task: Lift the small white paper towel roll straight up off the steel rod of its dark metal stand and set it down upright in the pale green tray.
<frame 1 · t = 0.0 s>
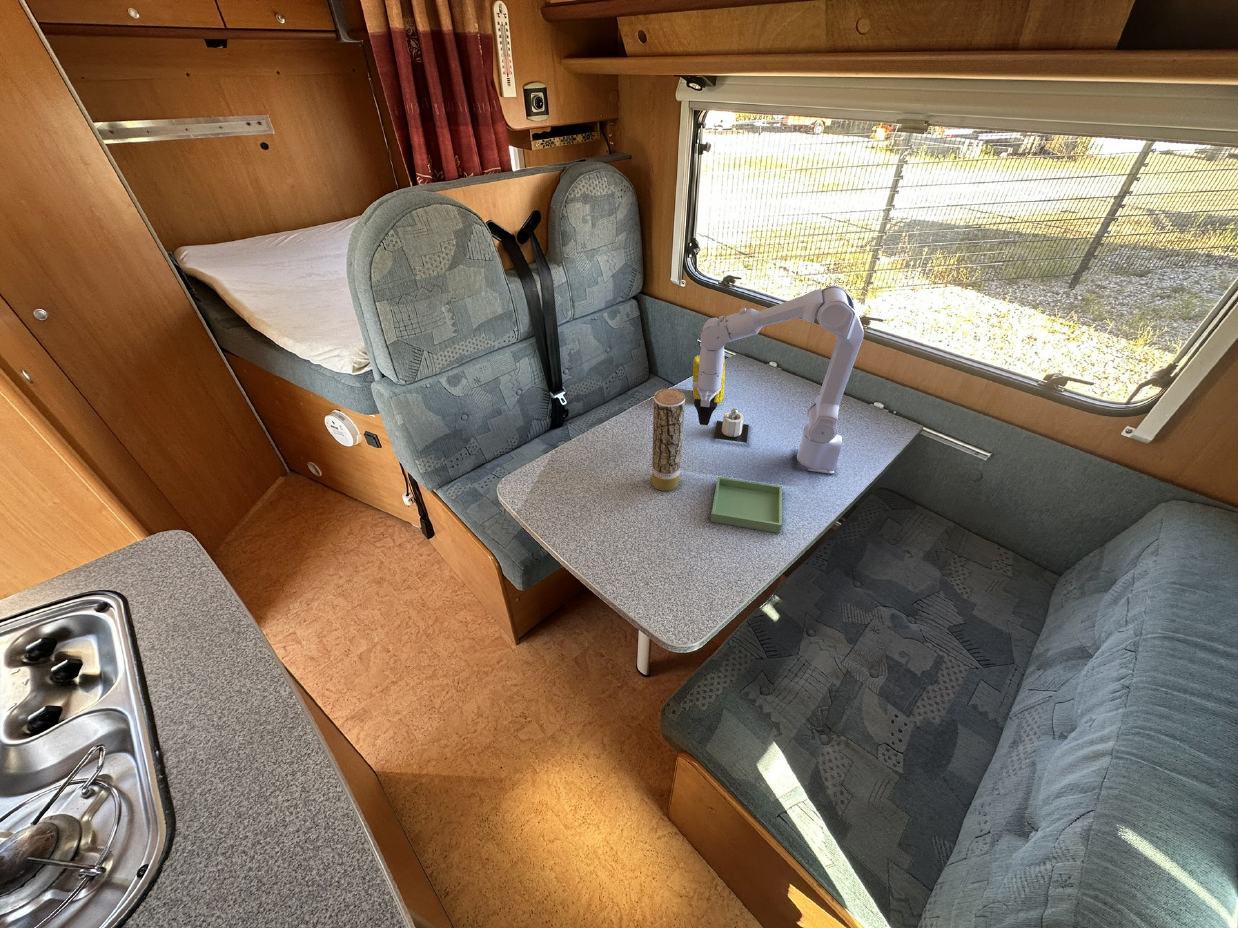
hand: (705, 416, 127), 10 cm above the table, tool pointing down, fingers open, 7 cm apart
tray: (746, 507, 115), on the table
food: (706, 400, 153), on the table
stand: (731, 434, 138), on the table
bark log: (665, 483, 123), on the table
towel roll: (731, 431, 138), point 1 cm above the table, touching stand
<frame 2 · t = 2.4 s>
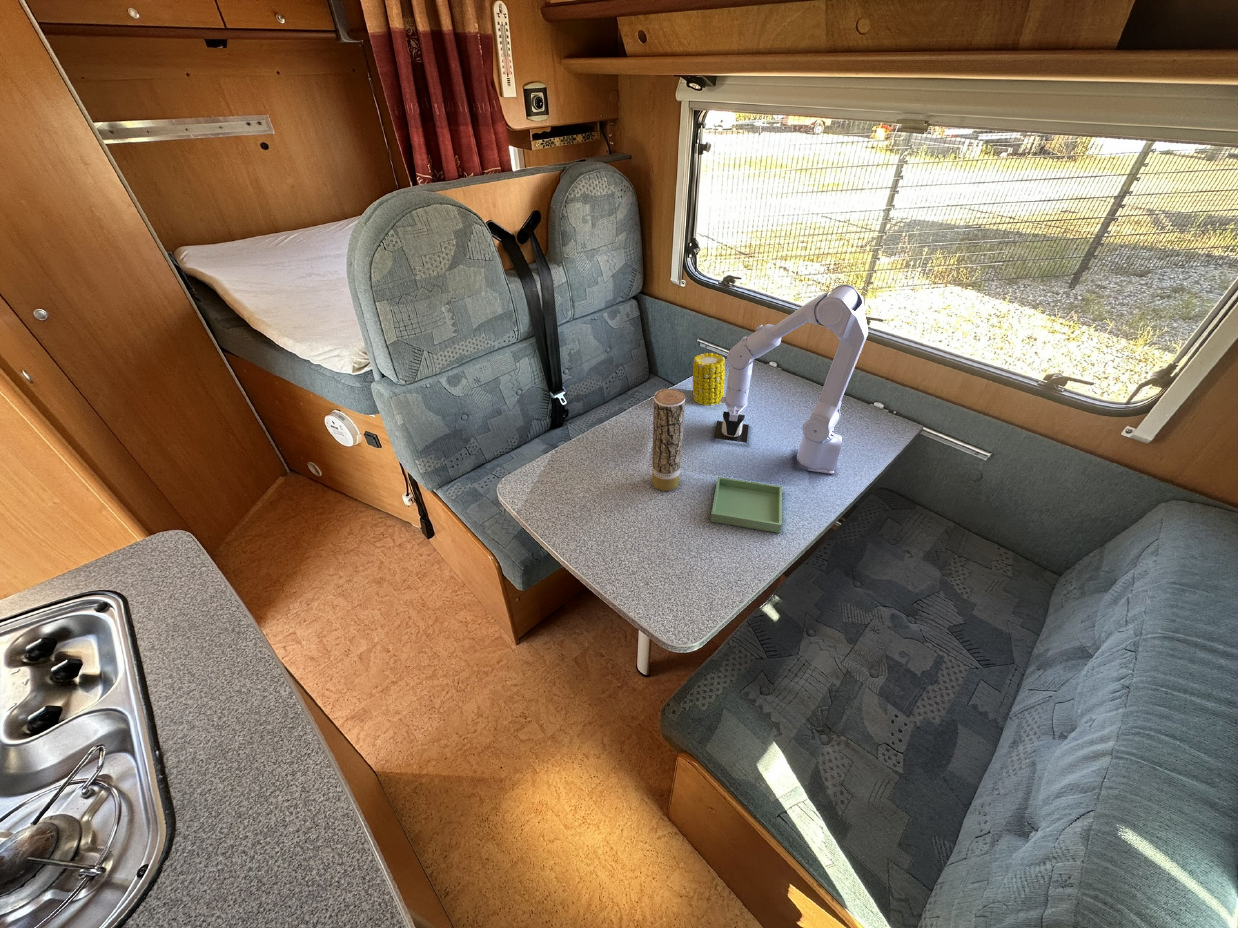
hand: (731, 428, 137), 2 cm above the table, tool pointing down, fingers closed on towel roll, 5 cm apart
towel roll: (731, 431, 137), point 1 cm above the table, touching gripper, stand
everything else where it was.
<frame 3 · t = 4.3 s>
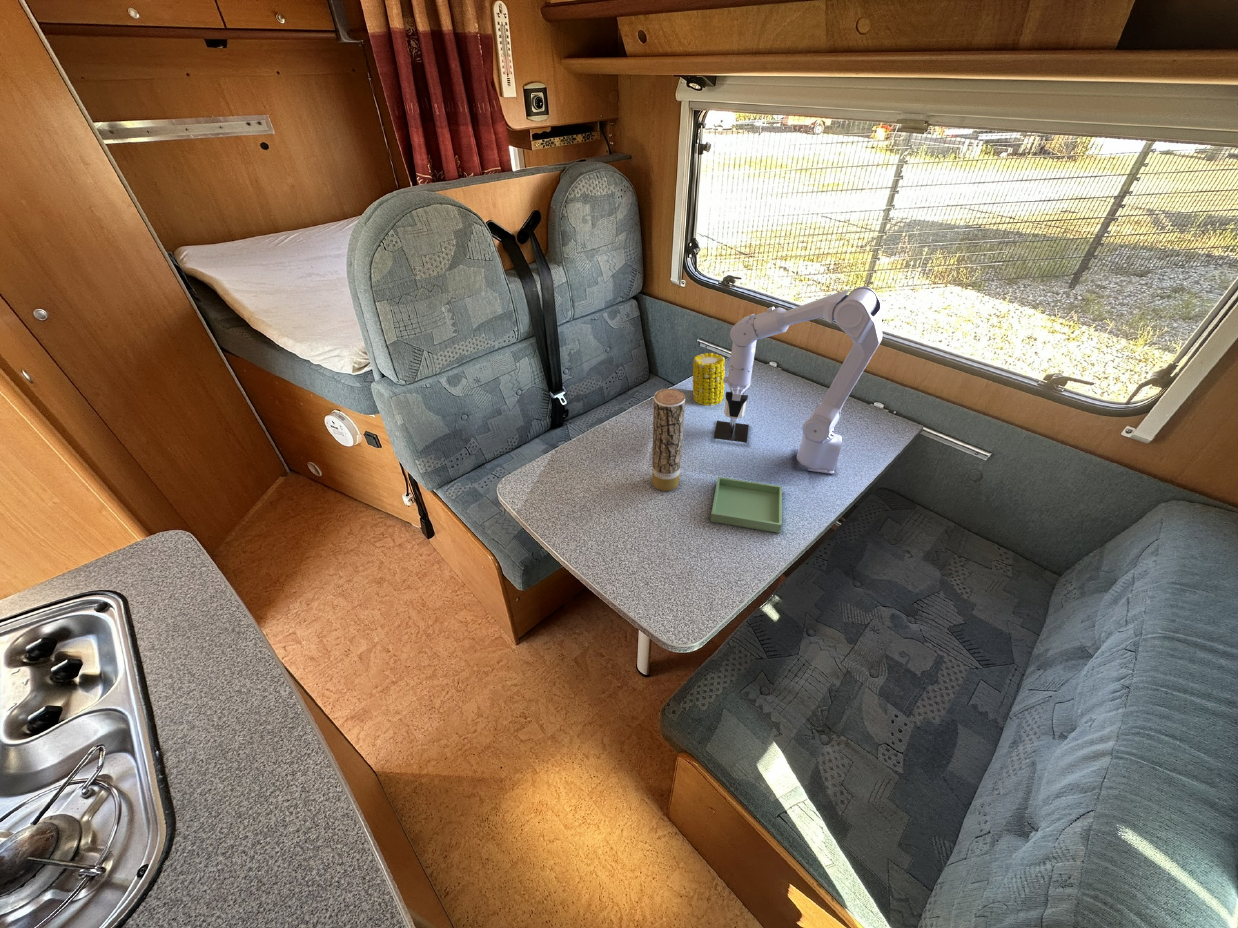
hand: (734, 410, 133), 8 cm above the table, tool pointing down, fingers closed on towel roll, 5 cm apart
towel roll: (734, 413, 134), point 7 cm above the table, touching gripper
everything else where it was.
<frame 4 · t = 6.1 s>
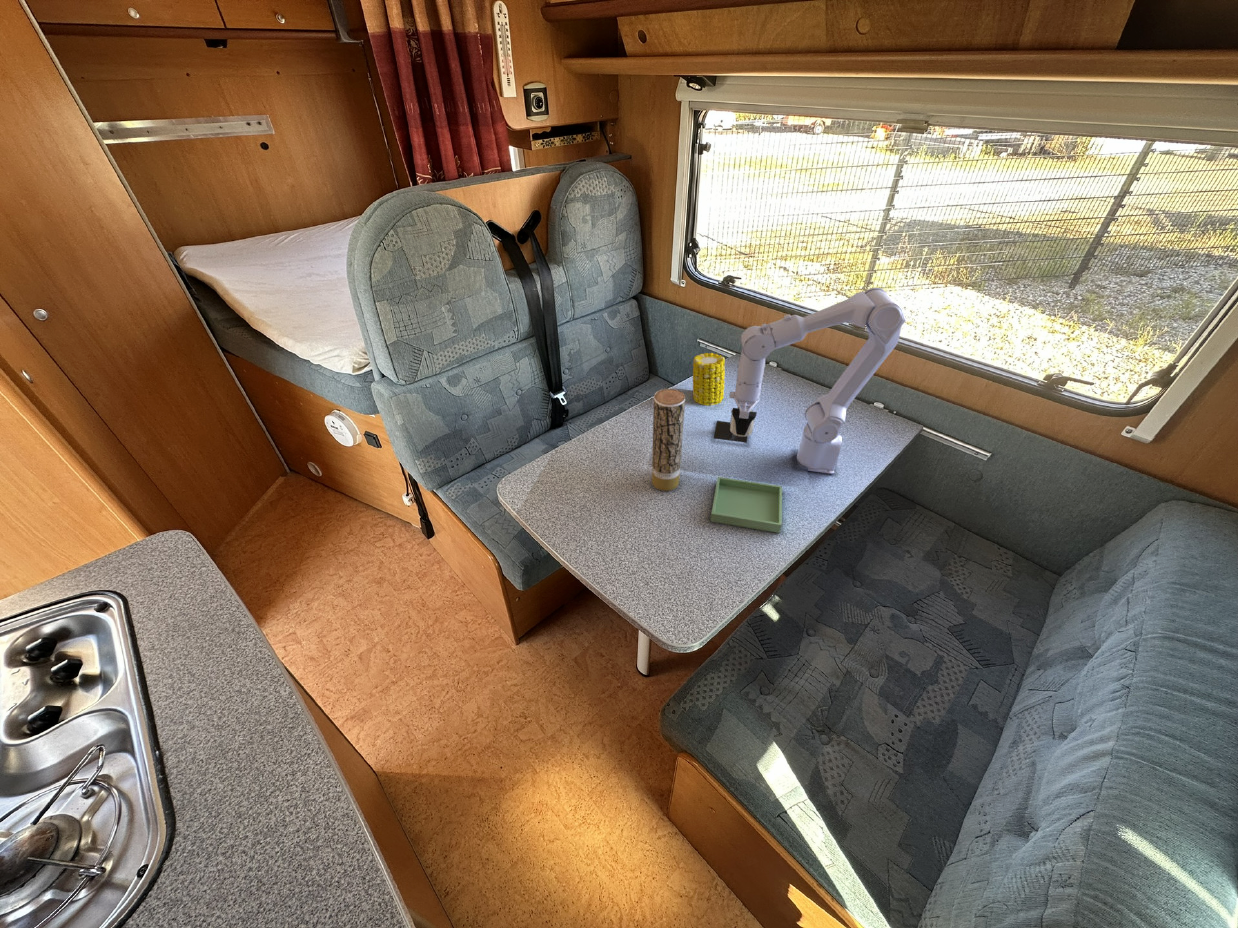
hand: (741, 427, 123), 10 cm above the table, tool pointing down, fingers closed on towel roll, 5 cm apart
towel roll: (741, 430, 123), point 9 cm above the table, touching gripper
everything else where it was.
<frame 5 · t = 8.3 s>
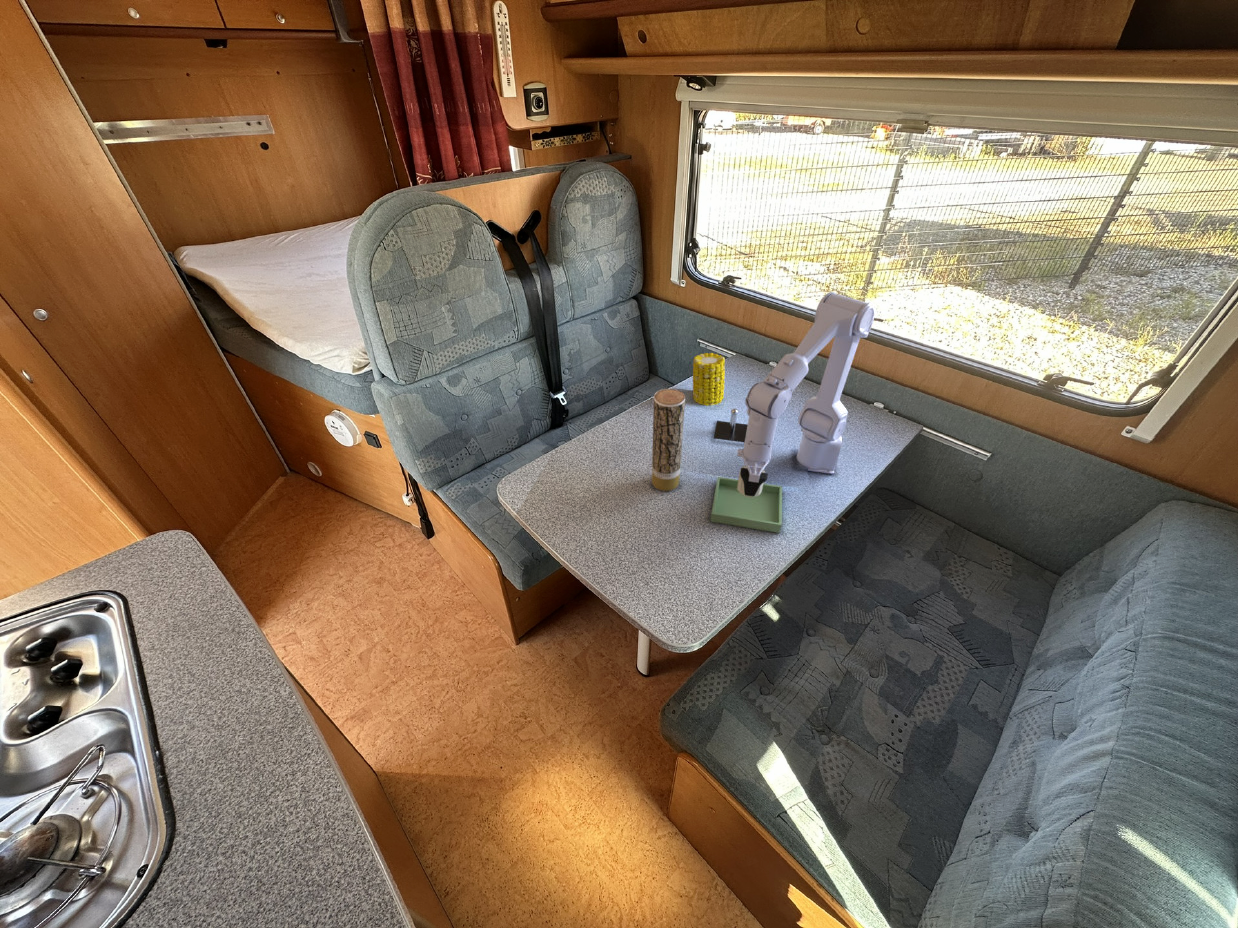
hand: (750, 486, 111), 7 cm above the table, tool pointing down, fingers closed on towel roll, 5 cm apart
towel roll: (749, 489, 111), point 6 cm above the table, touching gripper
everything else where it was.
when the fingers open (1 cm above the table, at t = 10.2 s): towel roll stays where it is, resting on tray.
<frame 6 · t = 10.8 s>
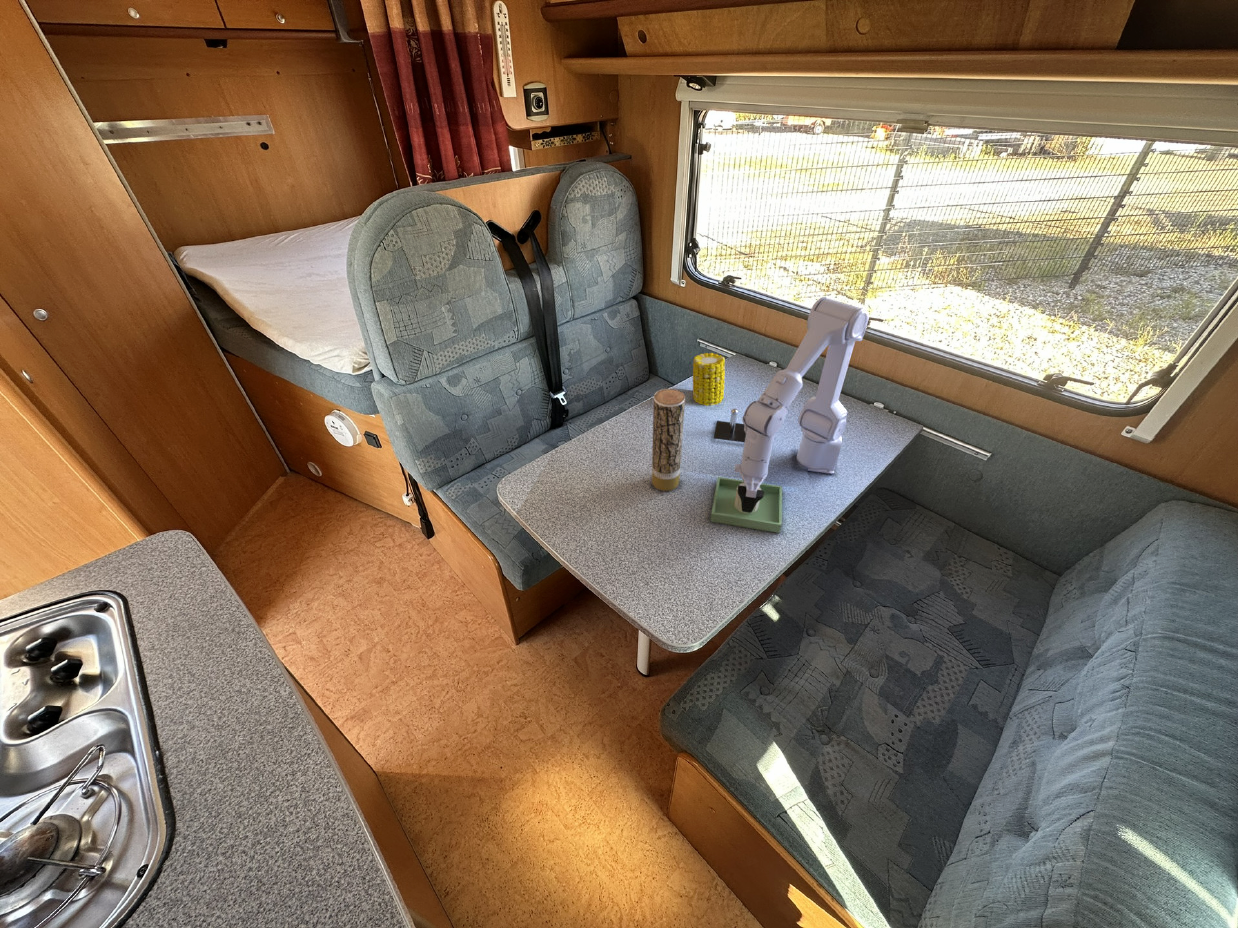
hand: (747, 499, 114), 2 cm above the table, tool pointing down, fingers open, 7 cm apart
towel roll: (746, 505, 115), resting on tray
everything else where it was.
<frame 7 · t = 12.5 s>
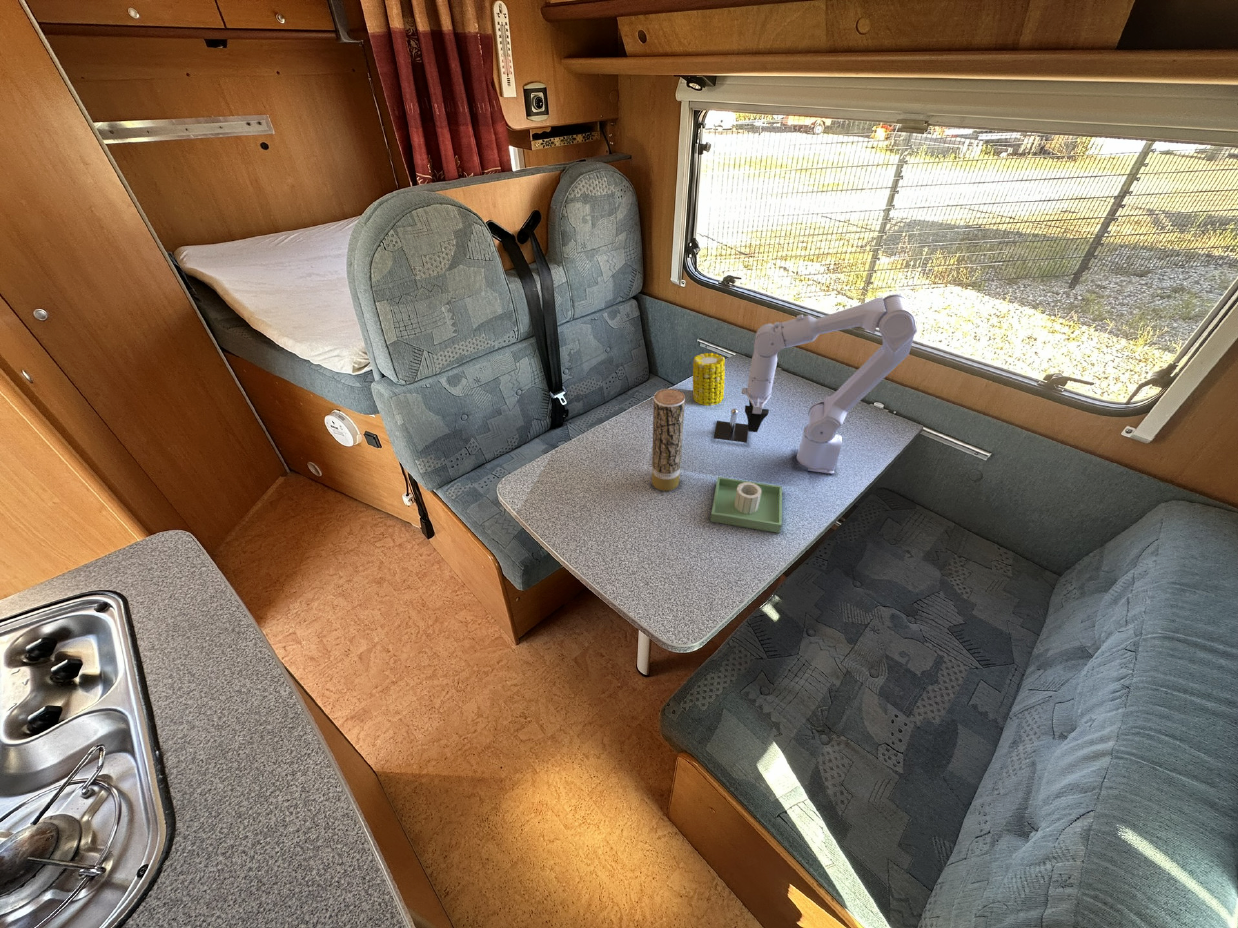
hand: (753, 422, 126), 9 cm above the table, tool pointing down, fingers open, 7 cm apart
nothing on the table moved.
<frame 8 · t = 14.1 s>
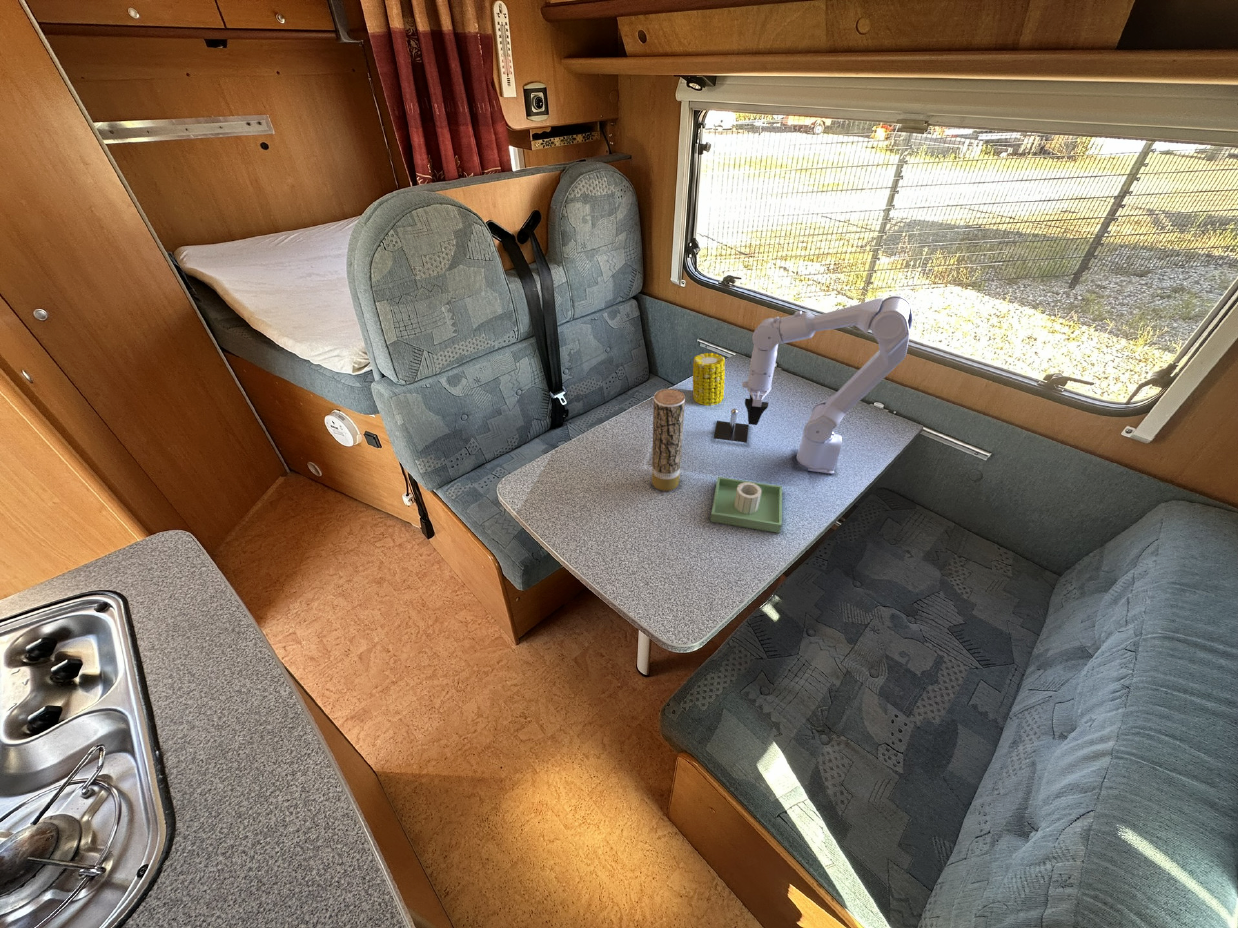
hand: (753, 415, 128), 9 cm above the table, tool pointing down, fingers open, 7 cm apart
nothing on the table moved.
at the end: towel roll inside the target area in the tray (0.1 cm from its centre), point 0.5 cm above the tray's base; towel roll tilted 0°; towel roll touching tray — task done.
